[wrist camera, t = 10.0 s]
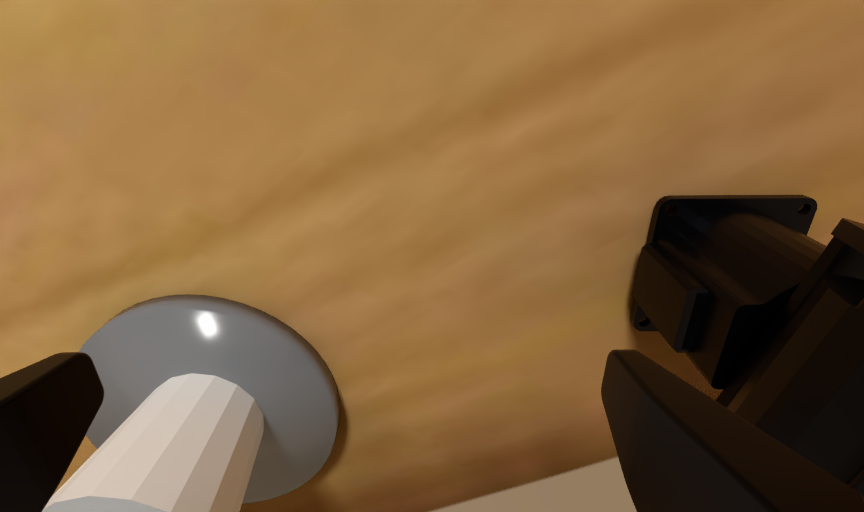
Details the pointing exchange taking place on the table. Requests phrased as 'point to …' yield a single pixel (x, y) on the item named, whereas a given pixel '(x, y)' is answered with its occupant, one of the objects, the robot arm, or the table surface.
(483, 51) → the table surface
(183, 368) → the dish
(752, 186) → the table surface
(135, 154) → the table surface
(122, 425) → the white cup
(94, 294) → the table surface
